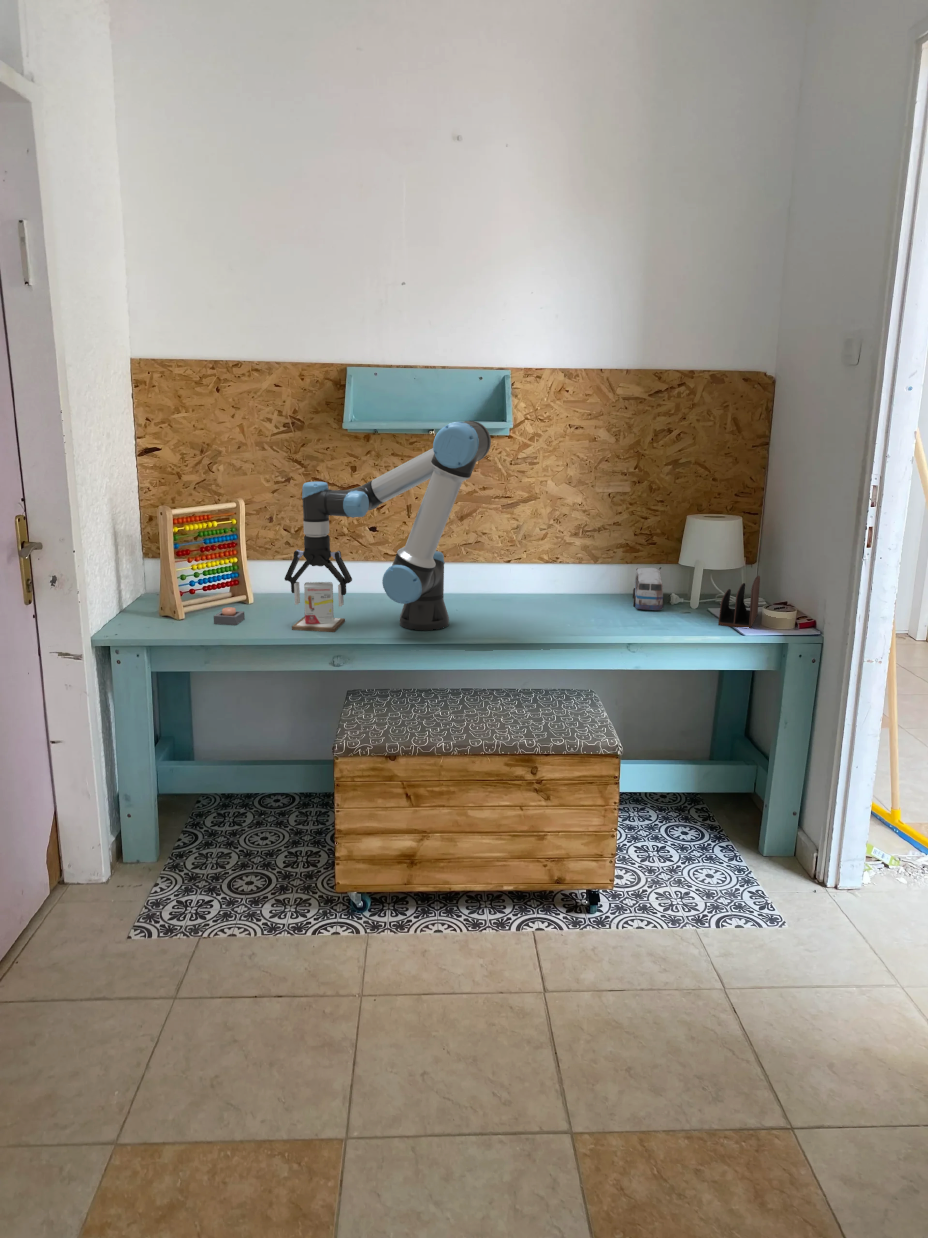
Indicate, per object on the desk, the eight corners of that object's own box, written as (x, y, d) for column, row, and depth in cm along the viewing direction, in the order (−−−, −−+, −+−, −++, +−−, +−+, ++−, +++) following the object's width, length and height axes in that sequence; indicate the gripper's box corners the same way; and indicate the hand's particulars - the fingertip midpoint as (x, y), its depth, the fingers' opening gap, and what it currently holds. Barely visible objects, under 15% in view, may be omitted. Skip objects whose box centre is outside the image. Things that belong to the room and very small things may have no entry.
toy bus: (660, 594, 324) (662, 566, 322) (664, 613, 299) (666, 583, 296) (632, 592, 326) (634, 565, 323) (633, 611, 300) (635, 581, 298)
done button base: (244, 619, 282) (244, 611, 281) (236, 625, 275) (235, 617, 275) (223, 618, 283) (222, 610, 282) (213, 623, 276) (213, 615, 276)
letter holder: (757, 614, 299) (762, 572, 295) (750, 629, 281) (755, 585, 277) (726, 611, 302) (730, 569, 299) (717, 625, 285) (721, 581, 281)
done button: (237, 615, 280) (237, 607, 280) (232, 618, 277) (232, 610, 276) (225, 614, 281) (225, 607, 280) (220, 617, 277) (220, 610, 276)
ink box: (305, 624, 273) (303, 585, 270) (304, 620, 278) (303, 582, 275) (333, 623, 275) (333, 585, 271) (333, 619, 279) (332, 581, 276)
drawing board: (345, 621, 281) (345, 617, 281) (334, 632, 270) (334, 628, 270) (304, 619, 283) (304, 615, 283) (291, 629, 272) (291, 625, 271)
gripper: (361, 533, 271) (362, 603, 277) (280, 531, 274) (283, 600, 280) (354, 538, 264) (356, 609, 269) (271, 535, 267) (275, 605, 273)
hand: (319, 604), depth 275 cm, fingers open, 13 cm apart
